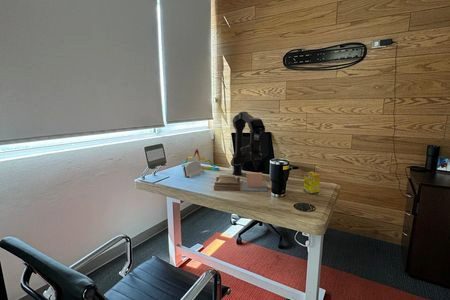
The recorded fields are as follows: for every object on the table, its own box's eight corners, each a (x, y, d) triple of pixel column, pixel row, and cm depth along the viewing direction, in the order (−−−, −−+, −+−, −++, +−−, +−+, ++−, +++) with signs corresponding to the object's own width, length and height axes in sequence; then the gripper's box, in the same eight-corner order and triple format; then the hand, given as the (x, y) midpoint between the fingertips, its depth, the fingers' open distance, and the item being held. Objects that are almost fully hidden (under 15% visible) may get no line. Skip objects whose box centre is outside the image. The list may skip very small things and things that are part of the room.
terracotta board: (246, 185, 145) (246, 172, 144) (261, 185, 145) (262, 172, 143) (246, 186, 143) (246, 173, 141) (262, 187, 142) (262, 173, 141)
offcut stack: (218, 181, 154) (218, 174, 153) (237, 181, 154) (237, 174, 153) (218, 184, 150) (217, 177, 149) (237, 184, 149) (237, 177, 148)
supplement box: (303, 191, 137) (304, 172, 135) (311, 189, 139) (312, 171, 137) (310, 194, 132) (311, 175, 130) (319, 193, 134) (320, 174, 132)
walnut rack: (216, 180, 156) (216, 177, 155) (239, 181, 155) (239, 177, 155) (213, 190, 139) (213, 186, 139) (240, 190, 138) (240, 186, 138)
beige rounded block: (189, 178, 161) (185, 163, 161) (184, 179, 164) (180, 165, 164) (204, 172, 175) (200, 158, 175) (200, 173, 178) (196, 160, 178)
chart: (219, 170, 181) (219, 150, 178) (217, 171, 178) (217, 151, 175) (184, 166, 192) (183, 147, 189) (182, 167, 189) (181, 148, 186)
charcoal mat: (242, 183, 151) (242, 182, 151) (264, 183, 150) (264, 182, 150) (242, 191, 137) (242, 190, 137) (267, 191, 137) (267, 190, 137)
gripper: (240, 138, 148) (240, 163, 151) (241, 143, 130) (241, 171, 133) (259, 138, 148) (258, 163, 151) (262, 143, 129) (261, 172, 132)
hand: (254, 167), depth 142 cm, fingers open, 9 cm apart
